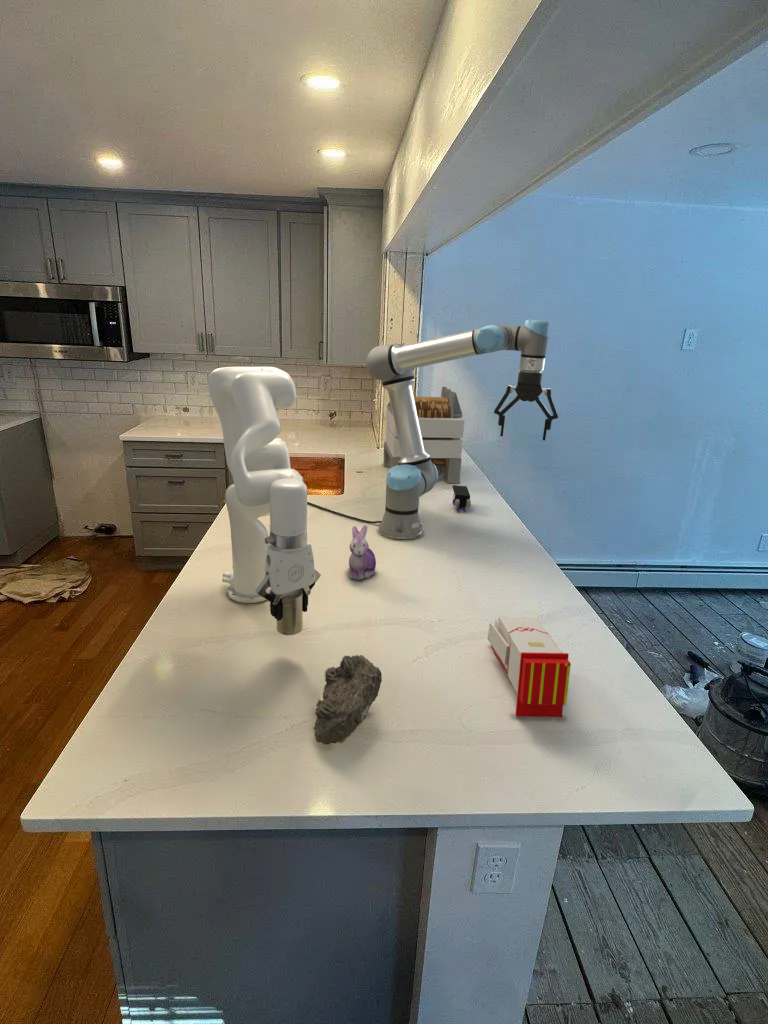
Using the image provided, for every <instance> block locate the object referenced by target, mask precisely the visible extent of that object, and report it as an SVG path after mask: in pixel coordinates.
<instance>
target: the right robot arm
mask: <svg viewBox="0 0 768 1024" xmlns="http://www.w3.org/2000/svg"><path fill="white" fill-rule="evenodd" d="M549 329H550V323H549V321H547V320H542V319H526V320H525V321H524V323H523V325H509V324H498V323H497V324H496V323H495V324H488V325H485V326H482V327H479V328H475V329H469V330H466V331H462V332H457V333H453V334H448V335H444V336H440V337H436V338H431V339H428V340H422V341H418V342H413V343H409V344H400V343H392V344H381V345H378V346H375V347H374V348H372V349H371V350H370V351H369V352H368V353H367V357H366V361H365V364H366V369H367V372H368V374H369V375H370V376H371V377H372V378H373V379H375V380H378V381H380V382H381V386H382V388H383V389H385V390H386V391H387V394H388V399H389V401H390V404H391V408H392V413H393V418H394V423H395V427H396V432H397V437H398V442H399V446H400V451H401V459H400V460H399V466H398V465H396V466H394V467H392V468H390V467H389V469H388V470H387V473H386V478H385V504H384V505H385V507H384V508H385V509H384V513H383V515H382V519H381V520H373V521H372V520H367V519H362V518H358V517H355V516H351V515H348V514H345V513H342V512H338V511H335V510H333V509H329V508H326V507H323V506H320V505H318V504H316V503H312V502H309V501H307V505H310V506H312V507H316V508H317V509H321V510H324V511H327V512H329V513H333V514H336V515H339V516H342V517H346V518H348V519H352V520H356V521H359V522H364V523H367V524H379V526H378V533H379V534H380V535H381V536H382V537H385V538H387V539H389V540H395V541H410V540H415V539H418V538H420V537H421V536H422V535H423V525H422V524H421V518H420V515H419V507H420V506H419V505H420V498H421V497H423V496H424V495H426V494H427V493H429V492H430V491H432V489H433V488H434V487H435V486H436V484H437V482H438V478H439V472H438V468H437V466H435V465H434V464H433V463H432V462H431V459H430V455H429V454H427V453H426V452H425V451H424V446H423V441H422V436H421V431H420V426H419V421H418V416H417V411H416V406H415V401H414V396H415V395H414V392H413V391H414V390H413V383H414V382H415V379H416V378H415V374H414V371H415V369H417V368H422V367H426V366H432V365H436V364H437V365H438V364H441V363H447V362H451V361H456V360H459V359H465V358H470V357H473V356H478V355H485V354H491V353H495V352H500V351H515V352H520V357H519V368H518V369H519V370H520V371H519V372H518V376H517V383H516V386H514V385H513V386H512V385H511V384H508V385H507V386H506V391H505V392H504V394H503V396H502V398H501V399H500V400H499V402H498V403H497V405H496V407H495V408H494V410H493V414H495V415H497V416H498V423H497V424H498V425H497V426H500V437H503V436H504V431H505V422H506V415H505V414H506V413H507V412H508V411H509V410H510V409H511V408H512V407H513V406H514V405H515V404H516V403H517V402H519V401H522V402H530V403H532V402H536V404H537V405H538V407H539V408H540V410H541V411H542V412H543V414H544V416H545V417H546V418H545V420H544V426H543V433H542V441H546V438H547V431H550V430H551V429H552V428H551V427H552V422H553V420H557V419H558V418H559V415H558V411H557V409H556V406H555V402H554V400H553V397H552V388H551V387H548V388H543V387H542V385H543V377H544V373H543V372H544V370H545V362H546V356H547V355H546V353H547V348H548V341H549V331H550V330H549ZM514 391H515V393H516V396H515V397H514V398H513V399H512V400H511V401H510V402H509V403H507V405H506V406H504V408H502V407H503V405H504V403H505V402H506V400H507V399H508V397H509V395H510V394H512V393H513V392H514ZM542 393H543V395H544V396H546V398H547V401H548V404H549V407H550V409H551V413H552V414H551V413H550V412H549V410H548V409H547V407H546V406H545V404H544V403H543V402H542V399H540V397H539V396H540V395H541V394H542ZM501 408H502V409H501ZM500 409H501V410H500Z"/></svg>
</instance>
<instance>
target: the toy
mask: <svg viewBox="0 0 768 1024" xmlns="http://www.w3.org/2000/svg"><path fill="white" fill-rule="evenodd" d="M488 625H489V627H488V633H487V641H488V642H489V644H490V646H491V647H490V648H491V649H492V650H493V652H494V654H495V656H496V658H497V659H498V660H499V662H500V664H501V666H502V668H503V669H504V671H505V673H506V674H507V676H508V678H509V680H510V682H511V685H512V686H513V689H514V690H515V693H516V704H515V717H516V718H517V717H518V718H519V717H520V718H521V717H522V718H563V710H564V705H567V701H568V692H569V685H570V684H569V683H570V676H571V675H570V674H571V666H572V664H571V661H570V660H569V655H570V654H569V653H568V652H563V651H562V649H561V648H560V647H559V646H558V644H557V643H556V642H555V640H554V639H553V638H552V636H551V635H550V634H549V632H548V631H547V629H546V628H545V627H544V626H543V624H542V622H541V621H540V620H539V619H538V618H537V616H498V618H496V619H494V623H493V622H489V624H488Z"/></svg>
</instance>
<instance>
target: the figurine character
mask: <svg viewBox="0 0 768 1024" xmlns="http://www.w3.org/2000/svg"><path fill="white" fill-rule="evenodd" d="M451 487H452V490H453V494H452V501H451V503H452V504H453V507H454V508H456V511H457V512H460V510H463V511H464V513H466V512H467V509H470V508H471V505H472V504H471V501H472V500H471V494H470V491H469V488H468V486H467V485H456V484H452V485H451ZM466 508H467V509H466Z"/></svg>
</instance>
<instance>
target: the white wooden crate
mask: <svg viewBox="0 0 768 1024" xmlns="http://www.w3.org/2000/svg"><path fill="white" fill-rule="evenodd" d="M440 393H441V394H440V396H415V395H413V396H414V401H415V406H416V411H417V416H418V421H419V426H420V431H421V436H422V441H423V446H424V451H425V452H426V453H427V454H429V455H430V459H431V462H432V463H433V464H434V465H435V466H436V468H437V470H438V469H439V473H440V474H441V475H443V478H444V479H445V481H446V482H447V483H449V484H455V483H456V484H459V483H461V472H462V461H463V460H462V453H463V442H464V441H463V440H462V439H463V438H464V431H465V430H464V429H465V419H464V418H463V411H462V408H461V405H460V402H459V398H458V395H457V392H455V391H453V390H452V389H451V388H447V386H442V387H441V392H440ZM385 414H386V415H385V423H386V428H385V438H384V442H383V466H384V467H388V468H389V469H390V468H392V467H394V466H396V465H398V466H399V460H400V459H401V451H400V446H399V442H398V437H397V432H396V427H395V423H394V418H393V413H392V408H391V404H390V400H389V402H388V404H387V405H386V413H385Z"/></svg>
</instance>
